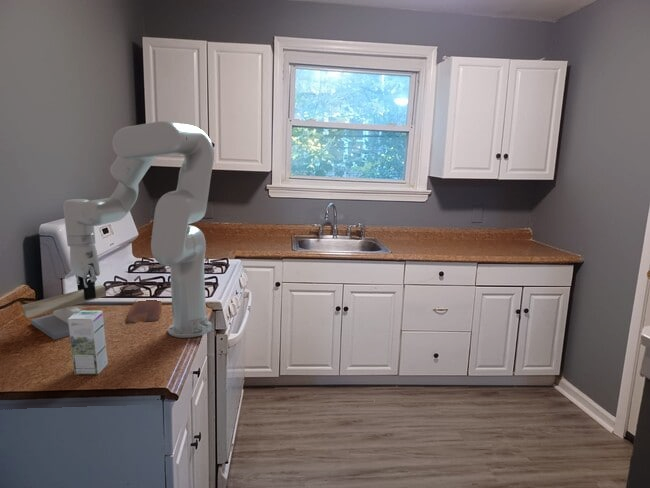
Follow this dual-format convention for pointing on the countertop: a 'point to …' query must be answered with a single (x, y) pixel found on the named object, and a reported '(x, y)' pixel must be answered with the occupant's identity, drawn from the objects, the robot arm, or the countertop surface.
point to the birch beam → (59, 302)
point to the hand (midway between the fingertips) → (87, 296)
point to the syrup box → (88, 342)
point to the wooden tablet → (145, 311)
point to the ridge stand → (56, 322)
